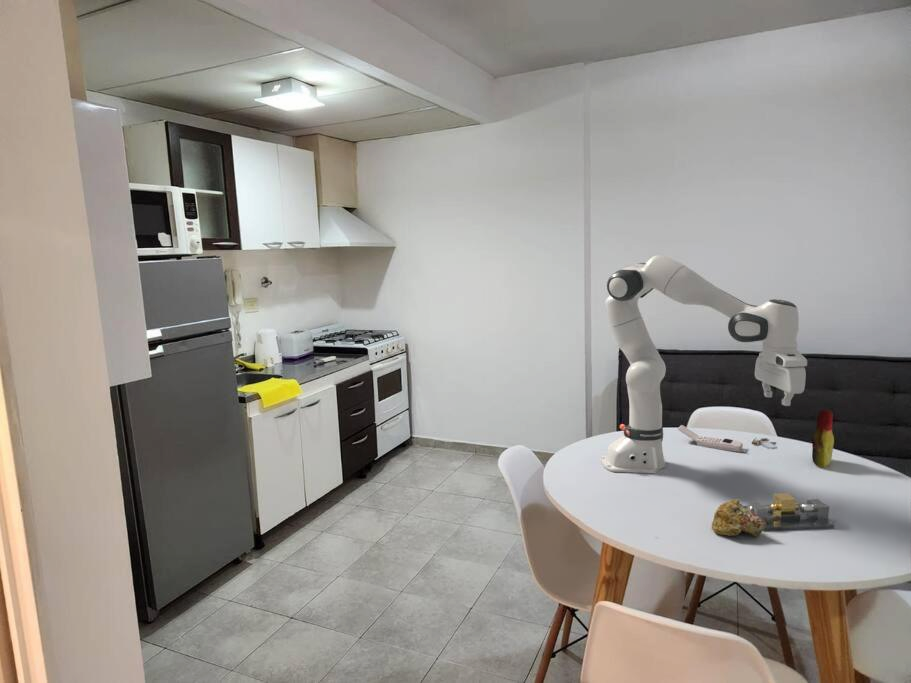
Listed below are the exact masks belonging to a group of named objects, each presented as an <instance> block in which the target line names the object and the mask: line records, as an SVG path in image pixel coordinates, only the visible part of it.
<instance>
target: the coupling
mask: <svg viewBox="0 0 911 683" xmlns="http://www.w3.org/2000/svg"><path fill="white" fill-rule="evenodd" d="M798 504H799V503H797V499H796V498H795V497H793V496H792V495H791V494H789V493H773V502H772V504H769V505H770V506H772V508H773V512H774V513H775V514H776V515H777V516H778V517H780V518H781V515H787V514H795V510H798V509H799V506H798Z"/></svg>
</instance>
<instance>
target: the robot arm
mask: <svg viewBox="0 0 911 683" xmlns="http://www.w3.org/2000/svg"><path fill="white" fill-rule="evenodd" d="M606 289H607V293H608V294H609V296H608V297H607V298H606V299H605V302H604V303H605V304H604V305H605V309H606V310H605V311H606V314H607V319H608V322H609V325H610V328H611V330H612V332H613V335H614V338H615V341H616V343H617V346H618V348H619V349H620V350H621V352H622V353H623V354H624V356H625V357H626V359H627V361H628V362H629V366H628V369H627V371H626V374H625V383H626V388H627V394H628V395H627V396H628V401H629V404H628V405H629V411H628V412H629V417H628V418H629V421H628V422H629V423H628V425H626V424H623V423H621V424H620V425H619V429H620V430H621V431H623V435H621V436H620V437H618V438H617V439H616V440H614V441H612V442H611V443H610V444H609V445H608V447H607V452H606V454H605V455H604V454H603V455H602V456H601V457H600V463H601V465H602V466H603V467H604V468H605V469H606V470H608V471H610V472H613V473H614V472H615V473H635V474H637V473H641V474H656V473H657V472H659V471H660V470H662V469H664V468H665V467H666V466H667V464H666V461H665V456H664V451H663V440H664V428H663V404H662V398H661V382H662V381H663V379H664V378H665V375H666V371H667V369H666V368H667V366H666V364H665V361H664V360H663V358H662V356H661V355H660V353H659V351H658V349H657V346H656V345H655V344H654V342H653V340H652V338H651V336H650V333H649V331H648V328H647V327H646V323H645V321H644V319H643V315H642V314H641V311H640V308H639V305H638V301H639V299H642V298H644V297H645V296H646V295H648V294H649V293H651V292H652V290H656V291H658V292H660V293H661V294H663V295H665V296H666V297H667V298H669V299H670V300H673V301H675V302H677V303H679V304H683V305H689V306H690V305H697V306H705V307H709V308H711V309H714V310H716V311H717V312H718V313H721V314H722V315H724V316H725V317H728V318H729V321H728V324H727V330H728V333H729V335H730V336H731V337H732V339H734V340H735V341H737V342H740V343H747V344H749V343H753V342H761V343H762V350H761V351H760V352H759V355H758V356H757V358H756V360H755V366H754V378H755V380H757V381H760V382H761V386H762V389H763V396H764V397H765V398H773V391H772V387H775V388H776V389H779V390H781V391H783V395H784V396H783V398H781V405H782V406H785V407H790V406H791V402H792V401H791V400H792V399H793V397H794V396H795V394H796V395H797V394H802V393H804V391H805V387H806V379H807V378H806V377H807V375H806V374H807V373H806V368H805V367H807V366H808V360H807V358H806V356H804V355H803V354H801V352H800V351H799V350H798V341H797V337H798V333H799V318H800V317H799V311H798V310H799V309H798V307H797V305H796V304H795V303H794V302H791V301H788V300H783V299H776V298H775V299H769V300H767V301H766V302H764V303H763V304H760V305H753V304H749V303H746V302H744V301H743V300H741V299H739V298H738V297H736V296H733V295H732V294H730V293H728V292H727V291H724V290H722V289H720V288H719V287H717V286H716V285H714V284H713V283H711V282H709V281H708V280H707V279H705V278H704V277H703V276H701V275H700V274H699V273H697V272H695V271H694V270H692V269H691V268H689V267H688V266H686V265H685V264H683V263H681V262H679V261H677V260H675V259H672V258H670V257H667V256H665V255H662V254H656V255H654V256H652V257H651V258H649V259H648V260H647V261H646V262H639V263H637V264H631V265H629V266H625V267H624V268H622V269H619V270H616V271H615V272H614V273H612V274H611V275H610V276H609V278H608V280H607V282H606ZM771 386H772V387H771Z"/></svg>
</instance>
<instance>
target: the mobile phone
mask: <svg viewBox="0 0 911 683" xmlns="http://www.w3.org/2000/svg"><path fill="white" fill-rule="evenodd" d="M677 431H679V432H681V433H682V434H684V435H685V436H687V437H688V438H690V439H692V440H693V441H694V442H695V443H696V445H697V446H699V447H703V448H709V449H716V450H720V449H721V451H726V450H727V451H728V452H738V453H745V454H746V453H747V450H744V449H742V448H743V446H744V445H743V444H744V443H743V442H741V441H738V440H734V439H730V438H719V437H718V438H717V437H709V436H702V435H701V436H699V434H697V433H695V432H694V431H692V430H690V429H689V428H688V427H686V425H685V426H684V425H683V424H680V426H679V427H678V428H677ZM727 451H726V452H727Z"/></svg>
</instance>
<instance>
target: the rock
mask: <svg viewBox="0 0 911 683" xmlns="http://www.w3.org/2000/svg"><path fill="white" fill-rule="evenodd" d="M740 502H741V501H740V499H738V498H737V499H730V500H729V501H728V502H725V503H722V504H720V505H719V506H718V507H717V509H716V510H715V512H714V516H713V521H712V522H711V529H712V531H713V532H714V533H715V534H718V535H722V536H729V537H734V536H739V534H741V533H742V532H746V533H749V534H750V535H752V536H755V537H756V538H759V537H760V536H761V534H762V532H763V530H764V529H765V527H766V523H765V521H764V520H763V519H761V518H759V517H758V516H757V515H755V514H754V512H752V511H751V510H748V509H745V508H744V507H743V506H744V505H742V504H741V503H740Z"/></svg>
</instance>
